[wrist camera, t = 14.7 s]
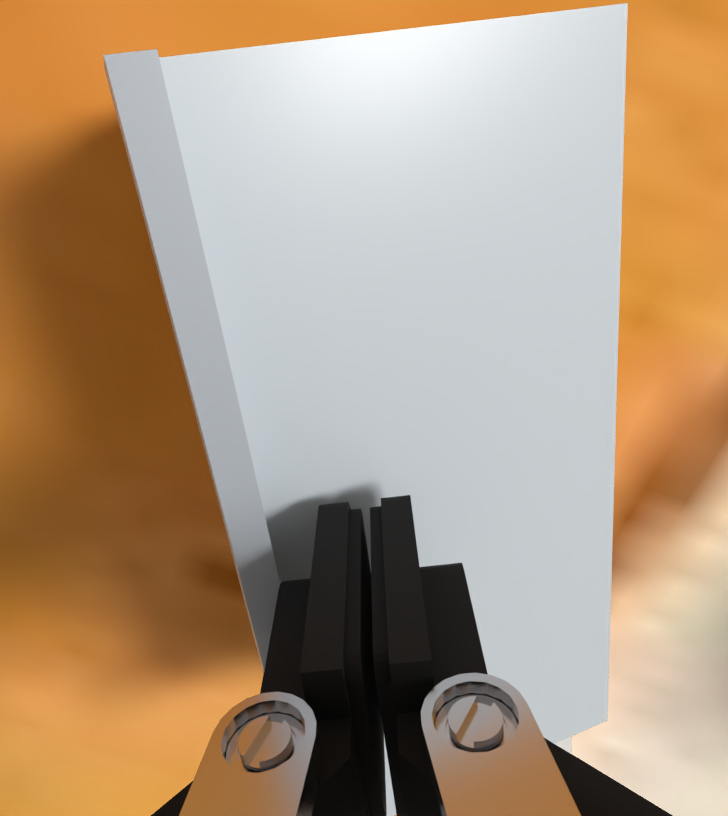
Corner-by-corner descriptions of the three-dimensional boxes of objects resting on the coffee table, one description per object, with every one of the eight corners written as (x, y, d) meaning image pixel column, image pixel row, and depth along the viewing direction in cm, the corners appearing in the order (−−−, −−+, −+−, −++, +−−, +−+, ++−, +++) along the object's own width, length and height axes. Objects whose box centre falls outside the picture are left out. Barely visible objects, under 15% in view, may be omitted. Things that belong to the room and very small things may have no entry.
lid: (592, 702, 18) (634, 751, 16) (304, 828, 16) (323, 896, 14) (602, 10, 11) (674, -10, 10) (104, 68, 9) (103, 55, 8)
